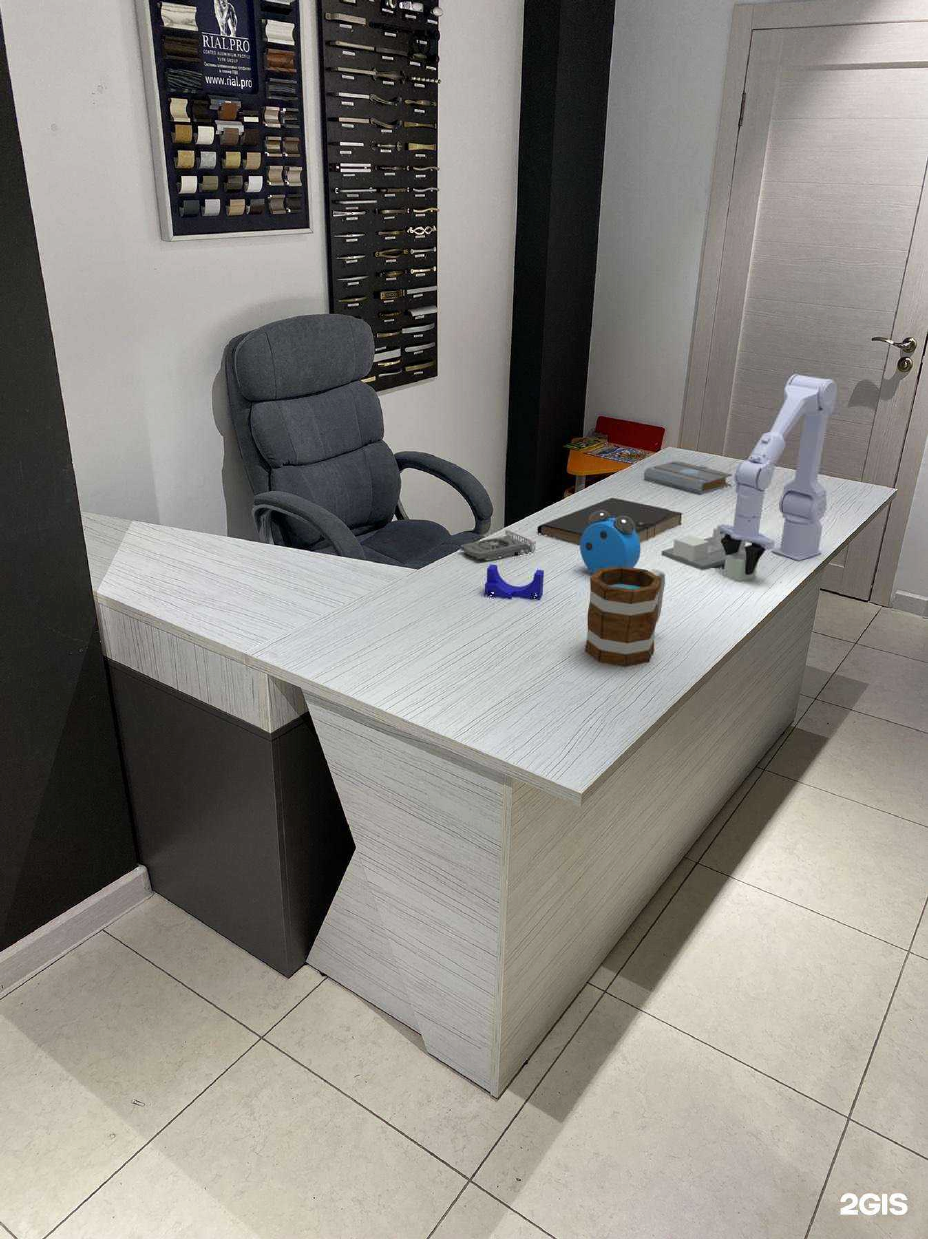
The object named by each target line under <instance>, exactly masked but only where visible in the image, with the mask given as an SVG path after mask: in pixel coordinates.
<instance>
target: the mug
mask: <svg viewBox="0 0 928 1239" xmlns="http://www.w3.org/2000/svg"><path fill="white" fill-rule="evenodd" d="M589 585H590V586H589V587H590V591H589V592H590V594H589V603H588V604H589V605H588V608H587V616H586V617H587V633H586V642H585V647H584V653H586V654H588V655H589V656H591V657H592V659H594V660H595V661H597V662H598V663H601V664H608V665H614V666H620V667H625V668H626V667H632V666H636V665H641V664H646V663H650V661H651V659H652V656H653V654H654V652H655V631H656V626H657V623H658V622H659V620H660V617H661V614H662V606H663V599H664V598H663V596H664V591H665V587H666V575H665V572H663V571H661V570H658V569H653V568H652V569H651V570H650V571H649V570H648V569H644V568H637V567H633V568H631V567H624V566H616V567H609V568H603V569H597V570H596V571H595V572H594V573H592V575H591V576H590V577H589Z"/></svg>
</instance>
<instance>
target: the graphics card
mask: <svg viewBox="0 0 928 1239" xmlns="http://www.w3.org/2000/svg"><path fill="white" fill-rule="evenodd" d="M504 534H505V535H504V536H498V537H493V538H488V539H482V540H479V541H474V542H468V543H464V544H461V545H460V551H461V552H462V551H463V552H464V553H465V554H467V555H468V556H470V557H475V559H476V560H477V559H479V560H480V559H482V558H483V559H482V560H484V559H487V560H489V559H494V560H498V559H497V558H499V557H504V558H507V557H506V556H509V557H511V556H510V555H513V556H515V554H517V553H519V554H518V555H524V553H525V554H528V553H529V552H531V554H535V553H536V543H537V542H536V541H532V540H531V539H529V538H527V537H525V536H522V535H520V534H517V533H515V532H513V531H511V530H509V529H507V530H504ZM515 552H516V553H515ZM529 554H530V553H529ZM499 559H500V558H499ZM489 561H490V560H489Z"/></svg>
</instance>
